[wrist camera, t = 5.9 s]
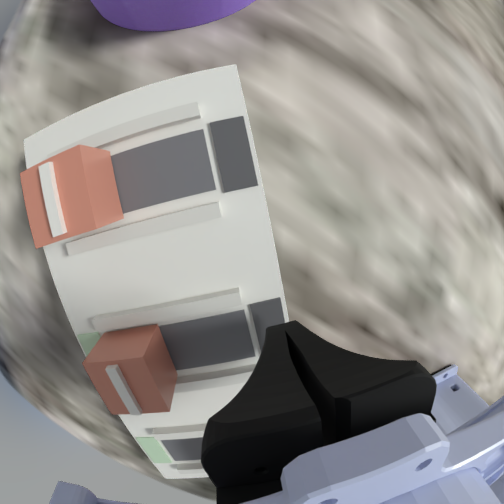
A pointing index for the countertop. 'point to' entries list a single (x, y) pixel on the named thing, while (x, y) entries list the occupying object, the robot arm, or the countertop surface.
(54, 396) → the countertop surface
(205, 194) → the switch strip
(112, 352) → the switch mid
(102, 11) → the masking tape
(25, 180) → the switch
